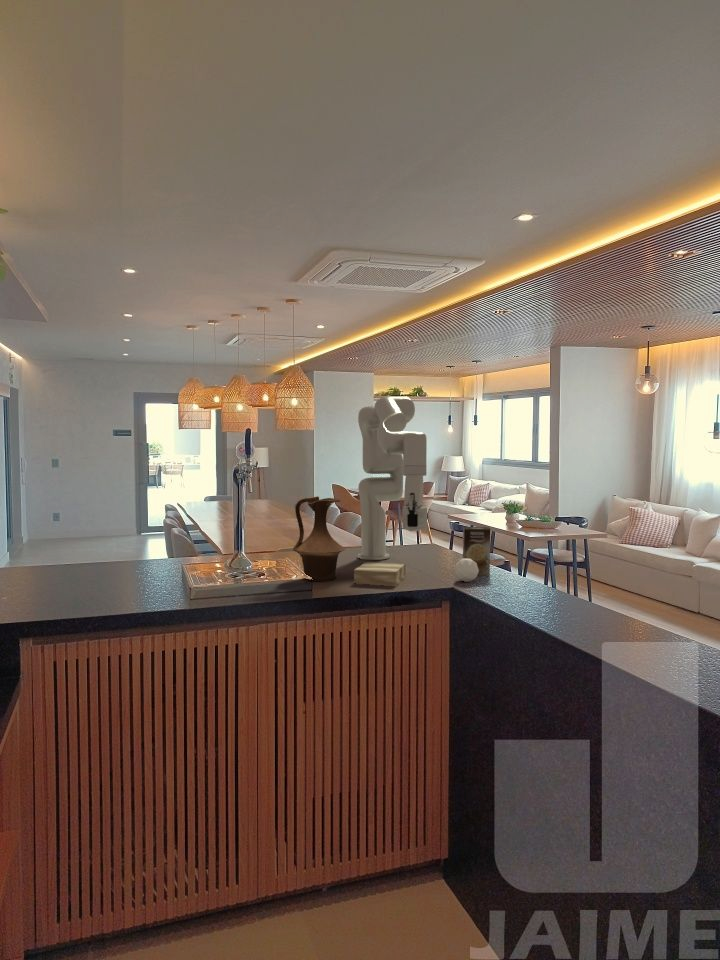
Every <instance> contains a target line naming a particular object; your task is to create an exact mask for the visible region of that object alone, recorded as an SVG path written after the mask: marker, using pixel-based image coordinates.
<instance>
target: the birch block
mask: <svg viewBox="0 0 720 960" xmlns="http://www.w3.org/2000/svg"><path fill="white" fill-rule="evenodd" d="M406 572H407V571H406V563H391V562H371V561H370V562H369V561H368V562H367V561H366V562H363V564H361V565H360V566H358V567H356V568H355V569H354V570H353V584H354V583H356V584H355V585H362V584H370V585H369V586H380V585H384V586H383V587H397V586H398V585H400V583H402V581H404V579H406V578H407V577H406V575H407V573H406ZM397 584H398V585H397ZM396 585H397V586H396Z"/></svg>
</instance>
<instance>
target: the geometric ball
mask: <svg viewBox="0 0 720 960" xmlns="http://www.w3.org/2000/svg"><path fill="white" fill-rule="evenodd" d="M478 571H479V569H478V566H477V563H476V562H474V561H473V560H472V559H467V558H463V557H462V558H461V559H459V560H458V561H457V562H456V564H455V566H454V574H455V577H456V578H457V579H458V580H460V581H461V582H462V581H464V582H465V583H466V582H467V583H470V582H472V581H474V580H475V579H476V578H477V577H478V575H477V574H478Z"/></svg>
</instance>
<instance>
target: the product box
mask: <svg viewBox="0 0 720 960" xmlns="http://www.w3.org/2000/svg"><path fill="white" fill-rule="evenodd" d="M414 509H415V508H414ZM407 514H408V506H407V507H406V506H402V529H403V530H406V531H407V532H416V531H417V532H418V531H427V530H428V508H427V507H424V506H422V505H421V506H418V507H417V514H418V526H417V527H408V526H407Z"/></svg>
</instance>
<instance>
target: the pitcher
mask: <svg viewBox="0 0 720 960" xmlns="http://www.w3.org/2000/svg"><path fill="white" fill-rule="evenodd" d="M338 502H340V503H341V500H340V499H337V498H334V497H327V498H322V499H320V496H310V497H303V498H300V499H299V500H297V502H296V504H295V512H294V513H295V517H296V521H297V525H298V529H299V537H298V540H297V542H296V544H295V545H294V547H293V548H292V550H293V552H295V553H297V554H299V555H300V557H301V561H302V567H303V574H304V573H305V574H306V575H308V576H310V577H312V579H313V580H314V581H313V582H327V581H328V582H329V580H330V581H333V579H334V580H335V579H336V577H337V575H336V574H337V565H338V558H339V555H340V554H341V553H342V552H344V551H345V550H346V548H345V547H344V546H342V545H341V544H340V543H338V542H337V541H336V540H335V539H334V538H333V537H332V535H331V534H330V532H329V530H328V527H327V514H328V510H329V508H330V507H331V506H332V504H334V503H338ZM304 503H307V505H308V507H310V509H311V510H312V511H313V512H314V519H313V521H314V522H313V527H312V530H311V533H310V534H309V535H308V536H307V538H306V539H304V538H305V537H304V536H305V534H304V533H305V530H304V524H303V519H302V517H301V516H302V515H301V510H300V508H301V505H302V504H304Z"/></svg>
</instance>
